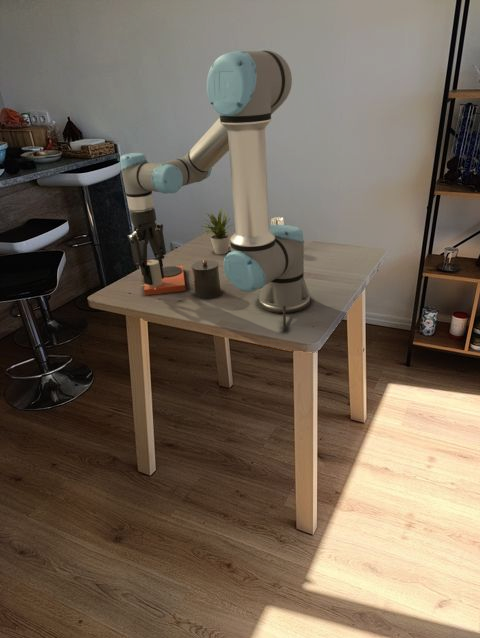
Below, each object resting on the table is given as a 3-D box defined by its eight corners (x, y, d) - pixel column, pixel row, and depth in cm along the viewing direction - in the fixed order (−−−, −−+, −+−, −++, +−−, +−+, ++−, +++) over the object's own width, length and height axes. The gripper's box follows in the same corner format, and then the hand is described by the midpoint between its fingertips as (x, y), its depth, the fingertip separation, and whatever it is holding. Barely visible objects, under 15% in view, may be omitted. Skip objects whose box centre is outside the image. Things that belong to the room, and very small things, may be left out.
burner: (182, 275, 162) (182, 274, 162) (155, 278, 161) (154, 277, 160) (181, 265, 170) (181, 265, 169) (155, 268, 168) (155, 268, 168)
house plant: (204, 245, 193) (199, 204, 185) (238, 244, 193) (235, 203, 184) (200, 258, 181) (195, 215, 173) (236, 256, 181) (233, 213, 172)
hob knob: (165, 282, 157) (161, 260, 153) (155, 288, 154) (151, 265, 150) (154, 280, 159) (150, 257, 155) (144, 285, 156) (140, 262, 152)
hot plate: (185, 291, 155) (184, 285, 154) (141, 297, 153) (140, 290, 152) (183, 270, 171) (182, 264, 170) (143, 275, 169) (142, 269, 168)
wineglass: (282, 246, 188) (281, 216, 182) (288, 250, 183) (287, 219, 177) (268, 249, 186) (267, 218, 180) (274, 253, 182) (273, 222, 175)
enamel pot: (222, 297, 150) (219, 263, 144) (196, 300, 149) (191, 266, 143) (219, 286, 157) (216, 254, 151) (194, 289, 156) (190, 257, 150)
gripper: (152, 200, 152) (163, 269, 164) (110, 215, 139) (126, 289, 151) (170, 202, 149) (181, 273, 161) (129, 218, 136) (144, 293, 148)
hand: (154, 280), depth 156 cm, fingers closed on hob knob, 5 cm apart
